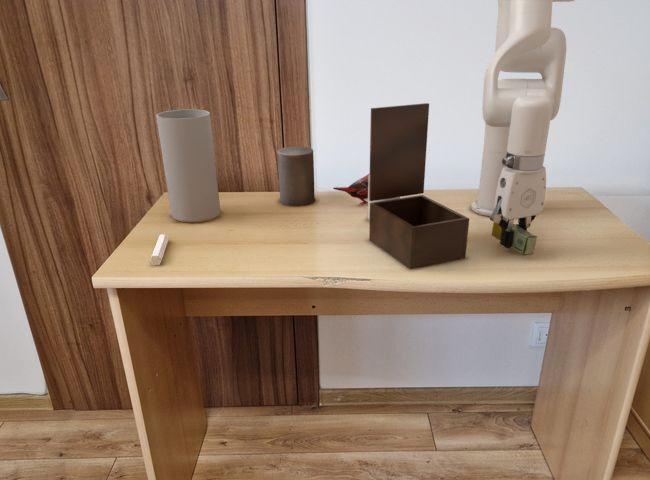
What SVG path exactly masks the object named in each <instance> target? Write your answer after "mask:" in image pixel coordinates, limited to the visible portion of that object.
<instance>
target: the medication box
mask: <svg viewBox="0 0 650 480" xmlns="http://www.w3.org/2000/svg"><path fill="white" fill-rule="evenodd" d="M507 221H508V220H507ZM507 221H506V222H507ZM501 231H502V228H500V226H499V225H498V224H497V223H495V222H493V223H492V229H491V236H492V237H493V238H495V239H497V240H499V241H500V239H501ZM511 231H513V240H512V246H511V249H513V250H515V251H517V252H519V253H520V254H522V255H523V256H531V255H533V254H535V253H534V252H535V247H536V244H537V239H538V236H537V235H535V234H534V233H532V232H530V231H528V230H527V231H526V230H524V229H522V228H521V227H519V226H517V225H516V224H515V223H513V226H512V230H511Z"/></svg>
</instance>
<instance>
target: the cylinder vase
mask: <svg viewBox="0 0 650 480" xmlns="http://www.w3.org/2000/svg"><path fill="white" fill-rule="evenodd" d="M155 117H156V123H157V129H158V136H159V137H158V138H159V142H160V149H161V156H162V163H163V170H164V175H165V176H164V177H165V183H166V189H167V196H168V201H169V209H170V215H171V217H172V219H173V220H175V221H178V222H181V223H190V224H192V223H193V224H196V223H204V222H209V221H211V220H214V219H216V218H218V217H219V216H220V215H221V201H220V193H219V186H218V185H219V184H218V176H217V174H218V173H217V167H216V156H215V148H214V147H215V146H214V139H213V131H212V121H211V112H210V111H208V110H203V109H174V110H166V111H162V112H159V113H157V114H155Z"/></svg>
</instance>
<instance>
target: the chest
mask: <svg viewBox="0 0 650 480" xmlns="http://www.w3.org/2000/svg"><path fill="white" fill-rule="evenodd" d="M469 225H470V218H469V217H467V216H465V215H463V214H462V213H460V212H457V211H456V210H454V209H452V208H450V207H448V206H446V205H443V204H442V203H440V202H437V201H435V200H434V199H432V198H429V197H427V196H425V195H423V194H419V195H412V196H405V197H400V198H399V199H393V200H386V201H379V202H372V203H370V221H369V234H368V235H369V238H368V239H369V242H371V243H372V244H374V245H375V246H377V247H378V248H379V249H381V250H382V251H384V252H385V253H387V254H388V255H389V256H391V257H392V258H393V259H395V260H396V261H398V262H399V263H401V264H402V265H403V266H405V267H406V268H408V269H409V270H413V269H417V268H422V267H427V266H432V265H439V264H442V263H443V264H444V263H449V262H453V261H454V262H455V261H458V260H462V259H466V256H467V247H468V245H467V244H468V235H469Z"/></svg>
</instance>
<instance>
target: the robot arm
mask: <svg viewBox="0 0 650 480" xmlns="http://www.w3.org/2000/svg"><path fill="white" fill-rule="evenodd" d="M560 2H561V3H563V2H566V3H567V2H568V3H569V2H575V0H497V6H498V8H497V24H496V33H495V34H496V36H495V48H494V54H493V55H492V57H491V59H490V60H489V62H488V65H487V66H486V69H485V73H484V78H483V90H482V91H483V92H482V108H481V109H482V119H483V121H484V123H485V124H484V138H483V149H482V158H481V167H480V178H479V186H478V195H477V200H474V201H473V202H472V203H471V204H470V206H471V207H470V209H471V211H473V212H474V213H476V214H479V215H482V216H486V217H489V220H490V222H491V221H492V222H493V223H494V222H495V223H497V224H498V225H499V226H500V228H502V231H501V239H500V240H499V245H500V246H502V247H504V248H505V249H507V250H510V249H512V247H511V246H512V240H513V231H511V230H512V226H513V224H514V220H517V223H516V224H515V225H517V226H519V227H521V228H522V229H524V230H526V231H528V229H529V228H530V227H531V224H532V223H533V221H534V220H535V219H536V217H538V216H539V215H540V214H542V213H543V211H544V207H545V201H546V192H547V191H546V190H547V171H546V167H545V165H544V162H545V157H546V149H547V143H548V136H549V131H550V125H551V121H552V120H555V118H556V117H557V115H558V113H559V111H560V107H561V101H562V92H563V84H564V83H563V82H564V74H565V67H566V66H565V65H566V58H567V38H566V34H565V33H564V31H563V30H562V29H561V28H558V27H553V26H552V15H553V13H552V12H553V3H560ZM500 72H503V73H516V74H517V73H521V74H522V73H523V74H525V73H528V74H530V73H531V74H532V73H533V74H536V73H537V74H540V76H541V78H502V79H499V75H500ZM506 221H507V222H506Z"/></svg>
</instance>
